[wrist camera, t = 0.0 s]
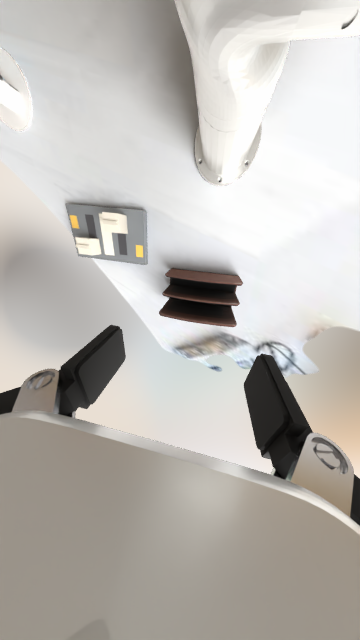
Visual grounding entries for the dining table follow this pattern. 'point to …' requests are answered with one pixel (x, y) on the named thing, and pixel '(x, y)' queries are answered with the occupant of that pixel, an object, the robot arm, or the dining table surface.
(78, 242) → the switch tab
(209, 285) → the letter holder
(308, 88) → the dining table surface
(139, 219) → the switch panel
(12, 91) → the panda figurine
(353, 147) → the dining table surface
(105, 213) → the switch tab
